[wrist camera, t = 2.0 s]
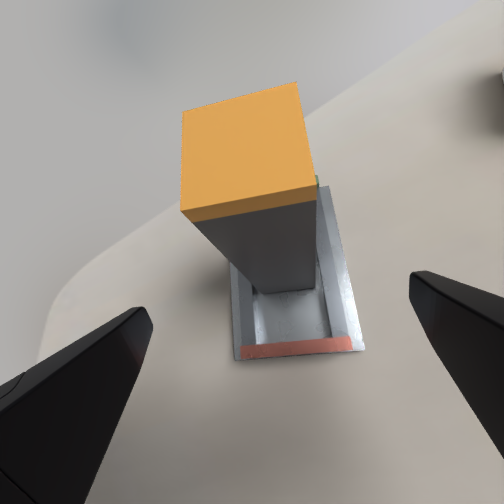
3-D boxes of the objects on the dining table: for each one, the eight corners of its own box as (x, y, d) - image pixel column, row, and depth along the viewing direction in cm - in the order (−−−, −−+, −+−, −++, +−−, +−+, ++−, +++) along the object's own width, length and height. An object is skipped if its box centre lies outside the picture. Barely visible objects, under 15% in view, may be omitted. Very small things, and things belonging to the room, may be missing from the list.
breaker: (315, 287, 19) (316, 184, 7) (262, 294, 20) (180, 210, 8) (307, 237, 21) (296, 81, 9) (257, 245, 21) (182, 111, 9)
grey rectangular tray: (362, 349, 18) (370, 350, 16) (238, 360, 20) (226, 361, 17) (328, 192, 23) (330, 171, 20) (230, 210, 25) (219, 193, 22)
